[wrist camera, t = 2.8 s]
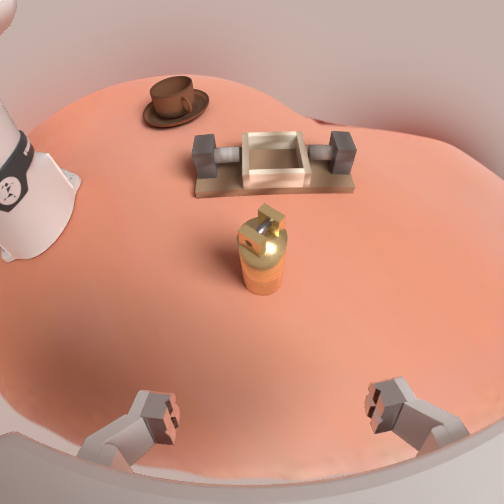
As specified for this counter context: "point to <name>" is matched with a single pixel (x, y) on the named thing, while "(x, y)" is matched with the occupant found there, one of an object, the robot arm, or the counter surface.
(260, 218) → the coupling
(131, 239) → the counter surface
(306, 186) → the shaft stand
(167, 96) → the cup and saucer
